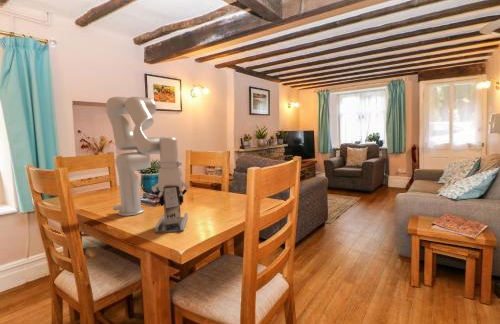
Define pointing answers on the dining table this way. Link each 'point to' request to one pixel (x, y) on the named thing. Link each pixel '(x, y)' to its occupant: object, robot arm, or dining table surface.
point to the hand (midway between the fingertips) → (171, 204)
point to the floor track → (171, 225)
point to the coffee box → (171, 205)
